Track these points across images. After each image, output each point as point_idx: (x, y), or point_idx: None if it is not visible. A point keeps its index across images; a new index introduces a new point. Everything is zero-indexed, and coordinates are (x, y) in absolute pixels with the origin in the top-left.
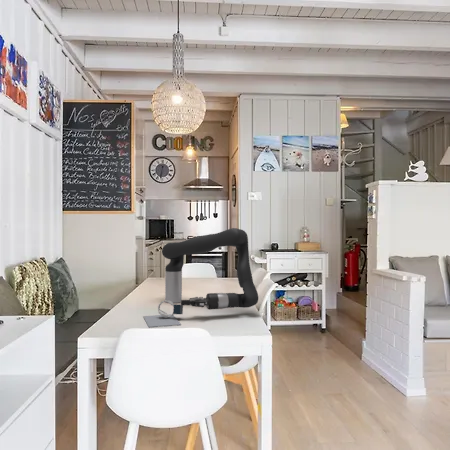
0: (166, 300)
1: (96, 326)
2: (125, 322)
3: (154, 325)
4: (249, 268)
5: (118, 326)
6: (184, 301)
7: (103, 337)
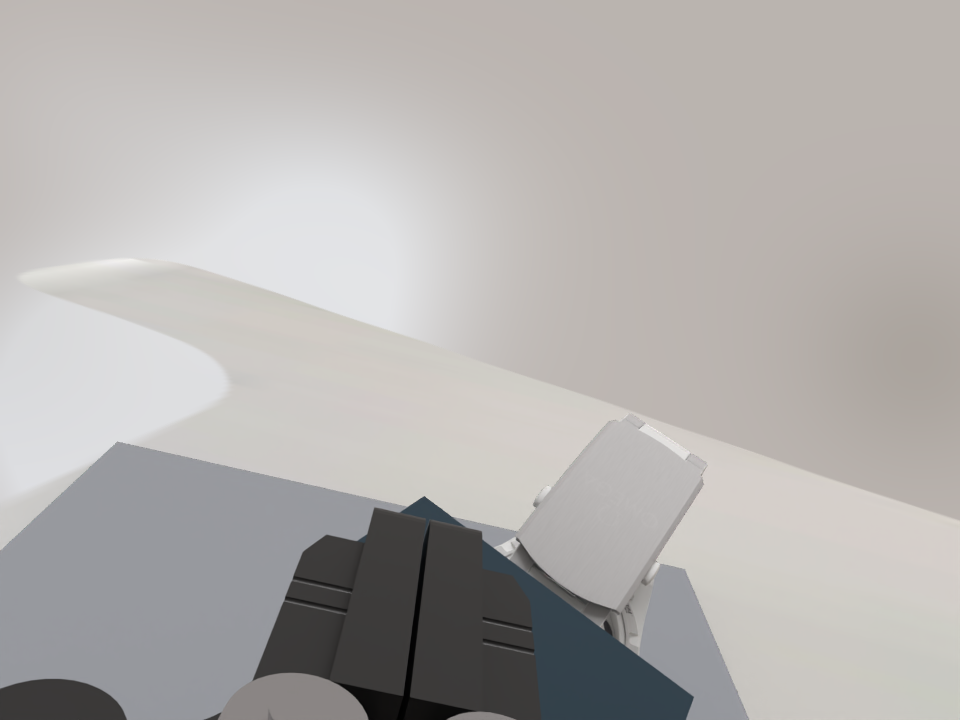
0: (623, 425)
1: (407, 339)
2: (461, 433)
3: (121, 483)
4: None
5: (337, 377)
6: (354, 575)
7: (81, 275)
